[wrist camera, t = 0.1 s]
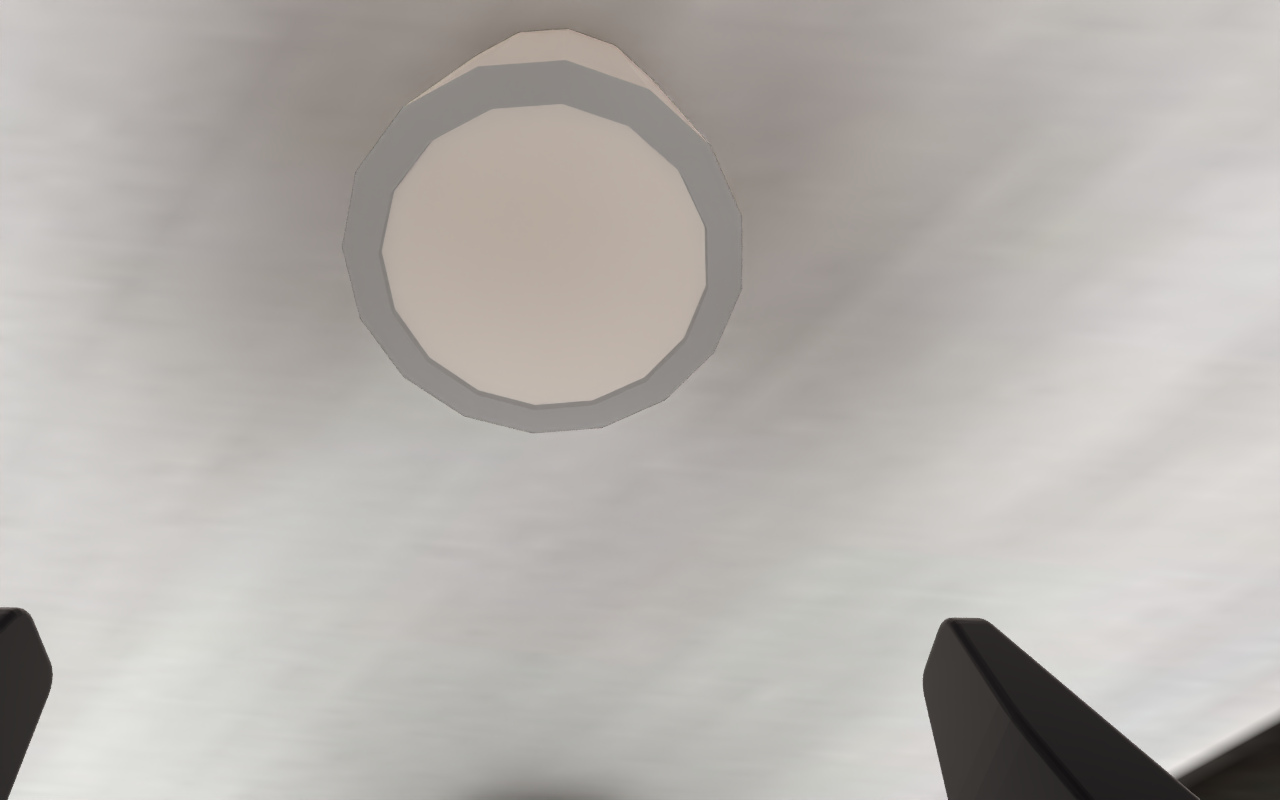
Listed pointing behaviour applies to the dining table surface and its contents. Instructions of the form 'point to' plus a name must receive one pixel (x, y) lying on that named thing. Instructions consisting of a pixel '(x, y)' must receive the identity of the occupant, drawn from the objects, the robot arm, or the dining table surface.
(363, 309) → the white tapered cup
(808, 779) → the dining table surface
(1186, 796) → the robot arm
